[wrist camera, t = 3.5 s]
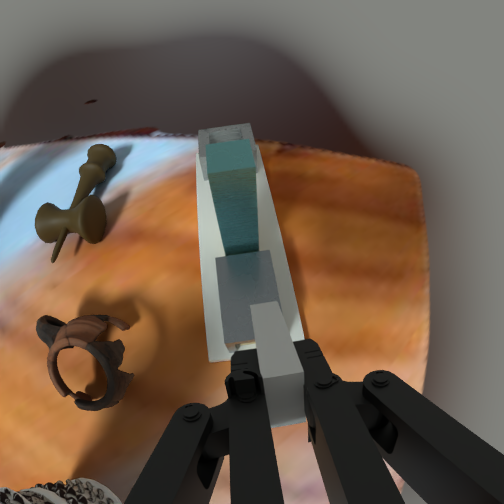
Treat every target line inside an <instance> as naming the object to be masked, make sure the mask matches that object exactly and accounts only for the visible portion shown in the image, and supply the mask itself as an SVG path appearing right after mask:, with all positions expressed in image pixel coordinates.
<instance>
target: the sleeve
mask: <svg viewBox="0 0 504 504" xmlns="http://www.w3.org/2000/svg"><path fill="white" fill-rule="evenodd" d="M215 261H216V271H217V281H218V291H219V300H220V310H221V319H222V327H223V336H224V344H225V346H226V347H227V349H228V351H229V353H234V352H235V351H237V346H236V344H243V343H250V342H255V336H254V329H253V322H252V315H251V308H250V305H253V304H260V303H267V302H273V301H278V304H279V307H280V309H281V312H282V308H281V303H280V298H279V293H278V288H277V283H276V278H275V273H274V268H273V263H272V258H271V254H270V250H264V251H257V252H250V253H244V254H237V255H230V256H223V257H216V258H215ZM282 315H283V313H282Z"/></svg>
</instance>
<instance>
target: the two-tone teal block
mask: <svg viewBox="0 0 504 504" xmlns="http://www.w3.org/2000/svg"><path fill="white" fill-rule="evenodd" d="M206 162H207V175H208V180H209V184H210V189H211V194H212V198H213V203H214V207H215V212H216V217H217V221H218V225H219V230H220V234H221V239H222V243H223V247H224V252H225V256H230V255H237V254H244V253H250V252H257V251H259V232H258V207H257V184H256V166H255V162H254V157H253V153H252V149H251V145H250V140H249V139H242V140H234V141H227V142H220V143H213V144H207V145H206ZM249 344H256V342H250V343H243V344H240V345H241V346H242V345H249Z"/></svg>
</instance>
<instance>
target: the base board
mask: <svg viewBox="0 0 504 504" xmlns="http://www.w3.org/2000/svg"><path fill="white" fill-rule="evenodd" d="M256 148H257V167H258V173H256V184H257V207H258V232H259V251H264V250H270V254H271V258H272V263H273V268H274V273H275V278H276V283H277V288H278V293H279V298H280V303H281V308H282V313H283V317H284V320H285V323H286V325H287V328H288V331H289V333H290V336H291V339H292V341H293V342H294V341H300V340H305V338H304V334H303V329H302V324H301V320H300V315H299V311H298V306H297V301H296V297H295V293H294V288H293V284H292V279H291V275H290V271H289V266H288V262H287V258H286V253H285V249H284V245H283V241H282V237H281V233H280V228H279V224H278V220H277V216H276V212H275V208H274V204H273V200H272V196H271V192H270V188H269V184H268V181H267V177H266V173H265V169H264V165H263V161H262V158H261V154H260V150H259V146H258V145H256ZM196 180H197V209H198V230H199V248H200V264H201V279H202V292H203V304H204V316H205V327H206V337H207V347H208V357H209V361H210V362H211V363H212V362H221V361H229V360H231V357H232V355H233V354H234V353H229V351H228V349H227V347H226V346H225V344H224V336H223V327H222V319H221V310H220V300H219V291H218V281H217V271H216V261H215V258H216V257H223V256H225V252H224V247H223V243H222V239H221V234H220V230H219V225H218V221H217V217H216V212H215V207H214V203H213V198H212V194H211V189H210V184H209V180H206V181H204V178H203V174H202V169H201V165H200V160H199V153H196ZM236 346H237V351H240V350H247V349H255V348H256V344H249V345H242V346H241V345H240V344H236Z"/></svg>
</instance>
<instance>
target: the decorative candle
mask: <svg viewBox="0 0 504 504" xmlns="http://www.w3.org/2000/svg"><path fill="white" fill-rule="evenodd" d="M66 483H67V484H66V486H65V485H64V484H63V482H62V481H57V482H56V483H55V484H52V483H46V484H45V485H42V484H36V485H35V487H31V488H30V489H24V490H20V491H19V492H15V491H13V490H11V489H9V488H7V487H3V488H0V504H122V502H121V501H120V499H119V498H118V497H117V496H116V495H115V494H114V493H113V492H112V491H111V490H110V489H109V488H108V487H106V486H104V485H102V484H101V483H99V482H97V481H95V480H92V479H87V478H78V479H74V480H69V479H67V480H66Z"/></svg>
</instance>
